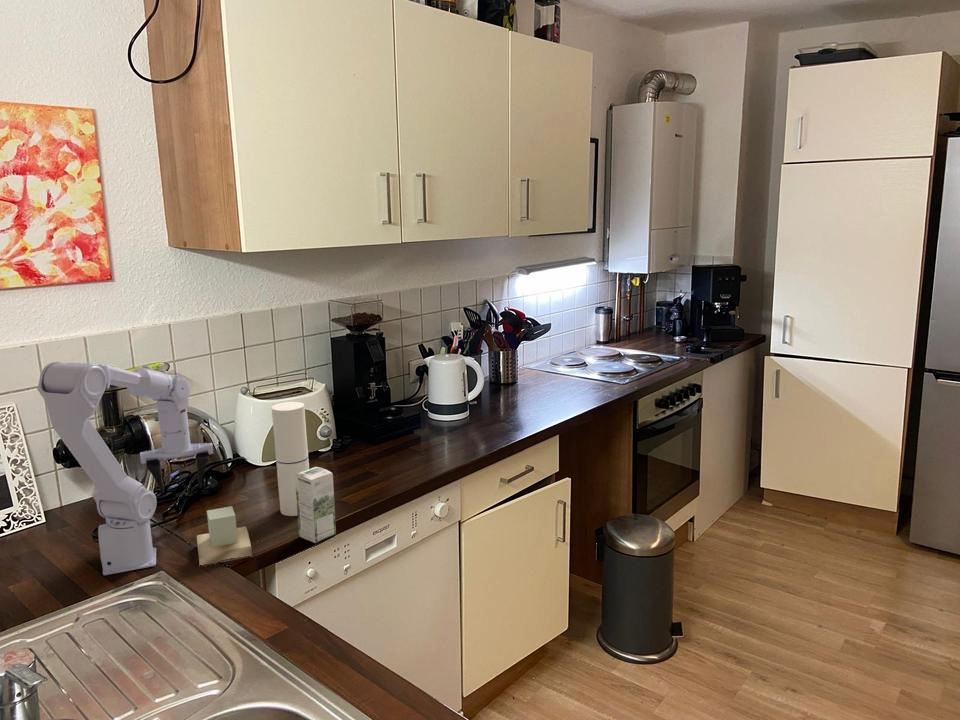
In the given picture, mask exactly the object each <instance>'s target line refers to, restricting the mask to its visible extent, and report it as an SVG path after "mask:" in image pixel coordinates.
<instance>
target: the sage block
mask: <svg viewBox="0 0 960 720" xmlns="http://www.w3.org/2000/svg"><path fill="white" fill-rule="evenodd" d="M206 517H207V527H208V533H209V538H210V542H211V545H212V548H213V547H218V546H223V545H228V544H233V543H238V538H237V528H238V527H237V518H236V514H235V511H234V507H233V505H231V506H227V507H225V506H224V507H220V508H213V509H208V510H206Z"/></svg>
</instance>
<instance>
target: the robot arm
mask: <svg viewBox="0 0 960 720" xmlns="http://www.w3.org/2000/svg"><path fill="white" fill-rule="evenodd" d="M111 386H115V387H121V388H127V389H126V390H127V391H128V392H129V393H130V395H133V396H135V397H141V398H147V399H151V400H152V401H153V402H156V407H157V409H156V410H157V416H158V423H159V424H158V426H159V431H160V441H161V447H160V448H156V449H152V450H147V451H141V452H139V458H140V464H146V468H147V470H148V471H149V473H150V474H151V475H152V477H153V478H154V480H155V482H156V484H157V486H158V488H159V492H160V494H162V495H163V494H165V486H164V485H165V484H164V481H163V477H162V468H161V461H162V460H163V461H164V460H170V459H177V458H184V457H190V456H191V457H192V456H195V458H196V466H197V484H198V488H203V477H204V473H205V469H206V467H207V464H208V462H209V458H210V457H209V455H213V454H214V445H213V443H212V442H208V443H207V442H206V443H191V436H190V434H191V433H190V427H189V419H188V418H189V416H188V408H189V404H190V402H189V398H190V395H191V391H192V390H191V389H192V386H191V384H190V383H189V381H188V380H187V378H185V376H183V375H180V374H169V371H168V370H167V371H166V370H159V371H158V370H154V369H153V367H152V366H149V365H142V366H141V367H137V368H135V369H132V370H129V369H128V370H127V369H123V368H119V367H116V366H114V365H113V366H112V365H110V364H106V363H104V364H103V363H84V362H83V363H81V362H65V363H64V362H60V361H52V362H50V363H48V364H46V365H45V366H44V367H43V369H42V371H41V372H40V375H39V380H38V385H37V391H38V393H39V394H40V395H41V397H42V399H43V400H44V401H45V403H46V407H47V411H48V415H49V416H48V417H49V420H50V424H51V427H52V428H53V430H54V432H55V433H56V434H57V436H58V437H59V438H60V439H61V441H62V442H63V443H64V445H65V446H66V447H67V449H68V450H69V451H70V453H71V454H72V456H73V457H74V458H75V461H77V462H78V464H79V465H80V467H81V468H82V469H83V471H84V472H85V473H86V475H87V476H88V478H89V479H90V480H91V482H92V483H93V484H94V485H95V487H96V488H95V490H94V492H93V495H92V499H93V500H94V501H95V503H96V509H97V512H98V514H99V516H101V517H102V518H105V523H104V524H100V525H98V529H97V532H98V533H97V534H98V535H97V536H98V546H99V547H98V548H99V555H100V557H99V558H100V562H101V566H102V575H103V576H109V575H114V574H119V573H125V572H130V571H134V570H139V569H145V568H150V567H156V565H157V547H153V538H152V530H151V529H152V528H151V523H150V521H151V519H152V518H153V515H154V514H155V511H156V508H157V497H156V494H155V493H154V491H152V490H150V489H147V488H146V487H145V486H144V485H143V483H141V482H139V481H138V480H136V479H134V478H132V477H130V476H129V475H127V473H126V472H125V470H124V469H123V467H122V465H121V464H120V462H119V461H118V460H117V459H116V457H115V456H114V454H113V452H112V451H111V450H110V448H109V447H108V445H107V444H106V442H105V441H104V440H103V438H102V436H101V435H100V434H99V431H98V430H97V429H96V427H95V426H94V425H93V423H92V422H91V420H90V417H92V416H93V415H94V414H95V413H96V410H97V408H98V406H99V404H100V403H101V402H100V401H101V399H102V397H103V395H104V393H105V391H106V390H109V389H110V387H111Z"/></svg>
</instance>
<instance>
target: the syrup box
mask: <svg viewBox="0 0 960 720" xmlns="http://www.w3.org/2000/svg"><path fill="white" fill-rule="evenodd" d="M295 486H296V501H297V515H298V516H297V525H298V526H297V527H298V528H297V529H298V536H299V537H300V538H301V539H304V540H306V541H309V542H311V543H314V544H317V543H319V542H322V541H323V540H326V539H328V538H330V537H333V536H335V535H336V533H337V530H336V529H337V528H336V525H337V524H336V511H335V510H336V508H335V491H334V489H335V488H334V474H333V472H331V471H330V470H329V469H325V468H323V467H319V466H314V467H312V468H309V469H308V470H306V471H303V472H300V473H297V474H295Z"/></svg>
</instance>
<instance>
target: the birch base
mask: <svg viewBox="0 0 960 720" xmlns="http://www.w3.org/2000/svg"><path fill="white" fill-rule="evenodd" d="M237 538H238V543H233V544H228V545H223V546H218V547H213V548H212V545H211V542H210V538H209V532H208V533H203V534H197V535H196V543H197V552H198V553H197V554H198V561H199V563H198V564H199V566H200V565H204V564H209V563H214V562H219V561H221V560H225V559H230V558H238V557H244V556H252V557H253V550H252V545H251V544H252V543H251V540H250V536H249V531H248V529H247V526H241V527H237Z"/></svg>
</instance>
